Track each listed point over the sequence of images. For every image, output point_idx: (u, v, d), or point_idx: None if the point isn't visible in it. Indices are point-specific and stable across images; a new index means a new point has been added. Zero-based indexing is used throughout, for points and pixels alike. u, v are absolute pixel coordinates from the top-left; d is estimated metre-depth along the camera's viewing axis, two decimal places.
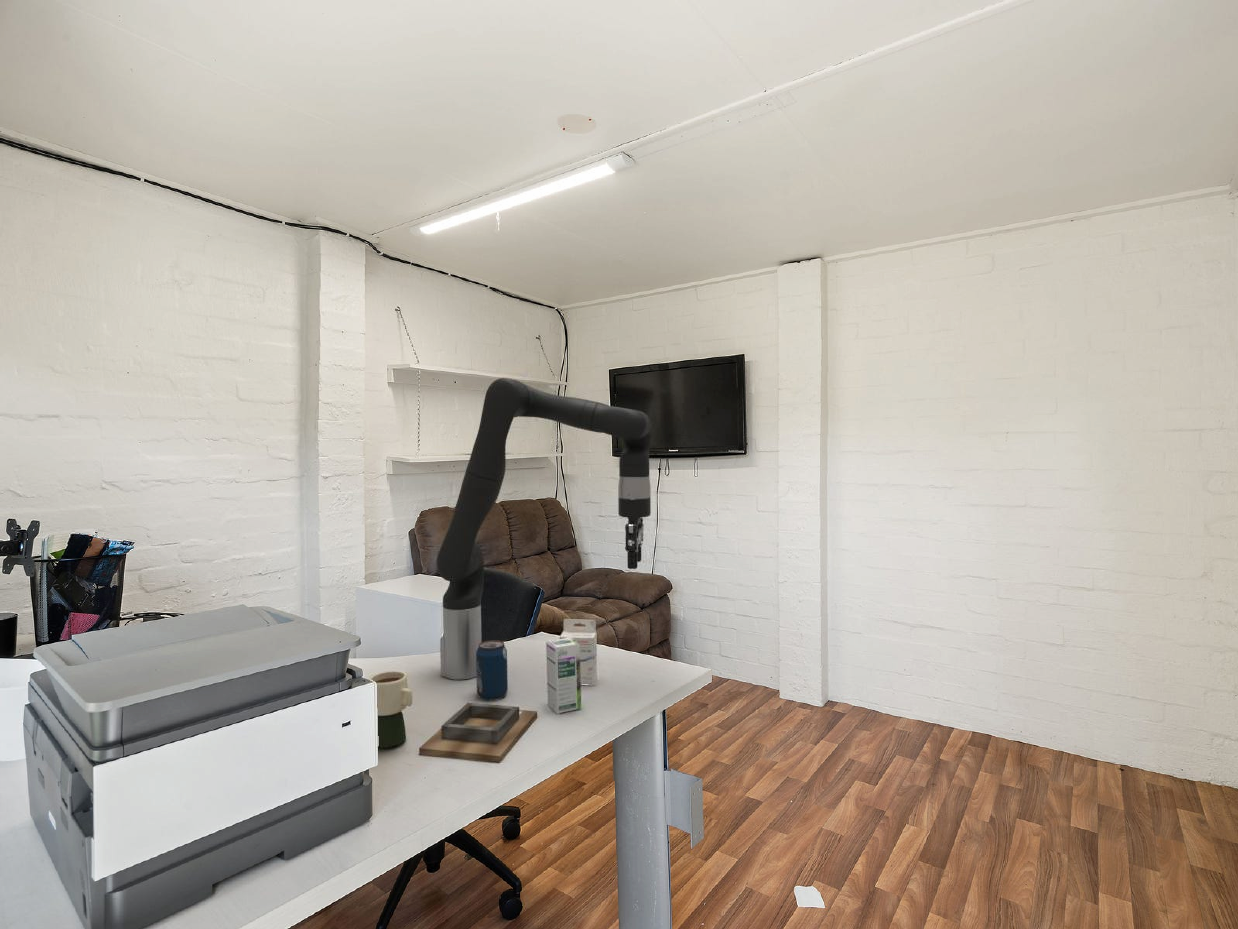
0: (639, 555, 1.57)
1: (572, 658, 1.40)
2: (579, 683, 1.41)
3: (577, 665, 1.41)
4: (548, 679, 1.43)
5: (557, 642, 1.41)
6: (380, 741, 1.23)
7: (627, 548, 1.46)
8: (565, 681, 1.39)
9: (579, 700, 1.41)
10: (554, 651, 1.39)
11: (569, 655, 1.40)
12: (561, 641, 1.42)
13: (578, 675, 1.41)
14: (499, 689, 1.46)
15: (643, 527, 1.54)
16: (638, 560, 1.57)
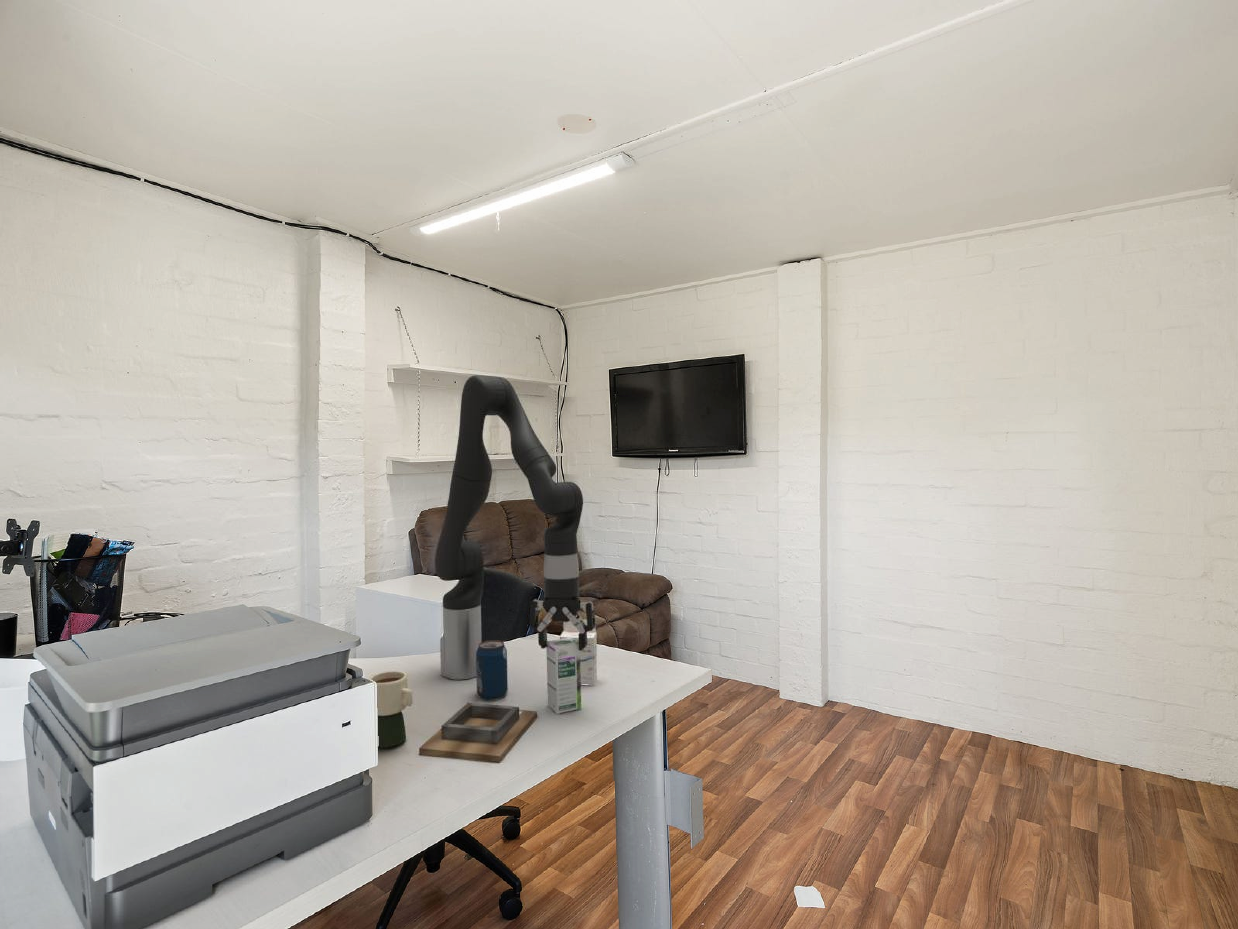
0: (546, 639, 1.43)
1: (572, 658, 1.40)
2: (579, 683, 1.41)
3: (577, 665, 1.41)
4: (548, 679, 1.43)
5: (557, 642, 1.41)
6: (380, 741, 1.23)
7: (593, 627, 1.39)
8: (565, 681, 1.39)
9: (579, 700, 1.41)
10: (554, 651, 1.39)
11: (569, 655, 1.40)
12: (561, 641, 1.42)
13: (578, 675, 1.41)
14: (499, 689, 1.46)
15: None
16: None
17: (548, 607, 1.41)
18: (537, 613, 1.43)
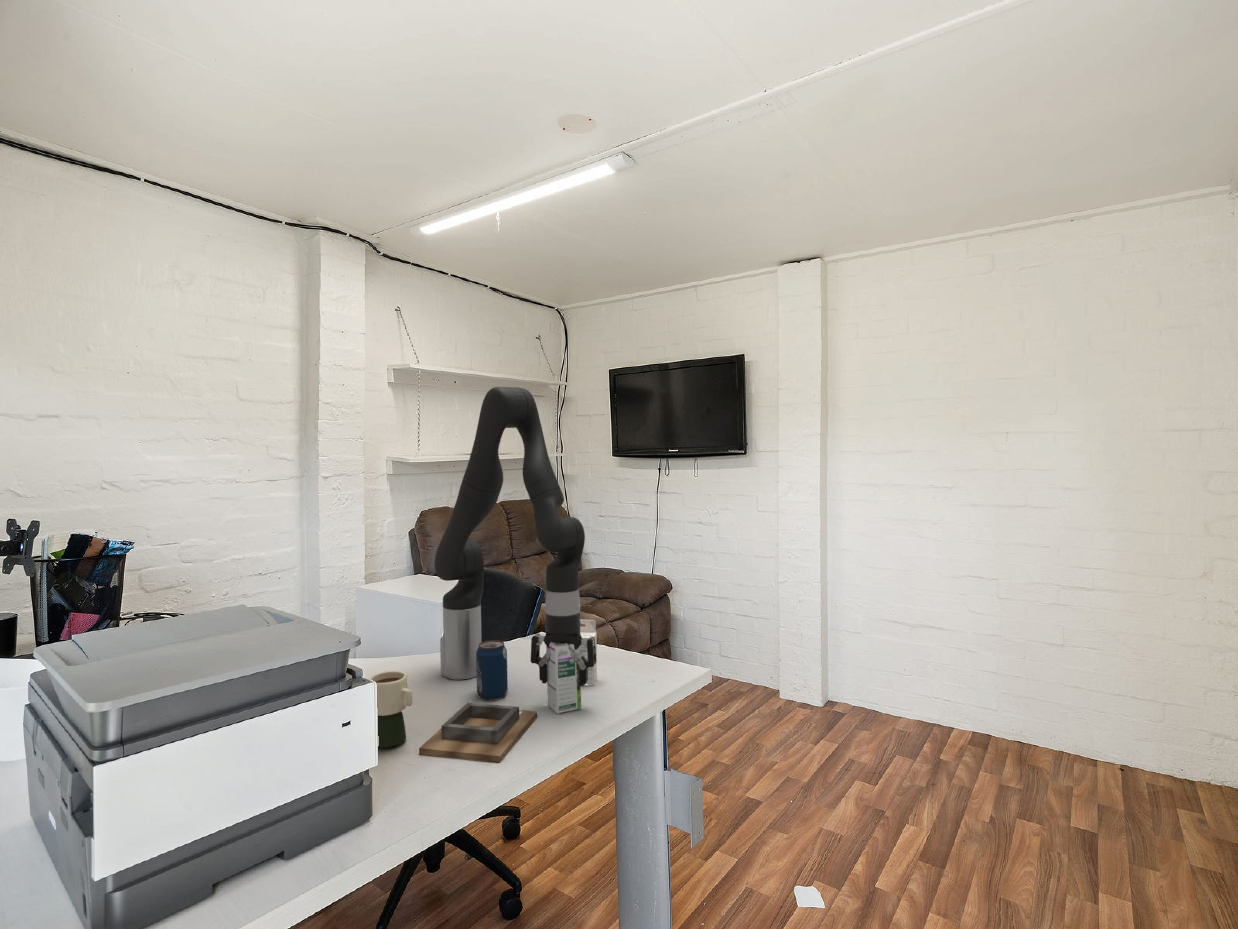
0: None
1: None
2: (579, 683, 1.41)
3: (577, 665, 1.41)
4: (548, 679, 1.43)
5: None
6: (380, 741, 1.23)
7: None
8: (565, 681, 1.39)
9: (579, 700, 1.41)
10: (554, 651, 1.39)
11: (569, 655, 1.40)
12: None
13: (578, 675, 1.41)
14: (499, 689, 1.46)
15: None
16: None
17: (549, 643, 1.41)
18: (538, 648, 1.44)
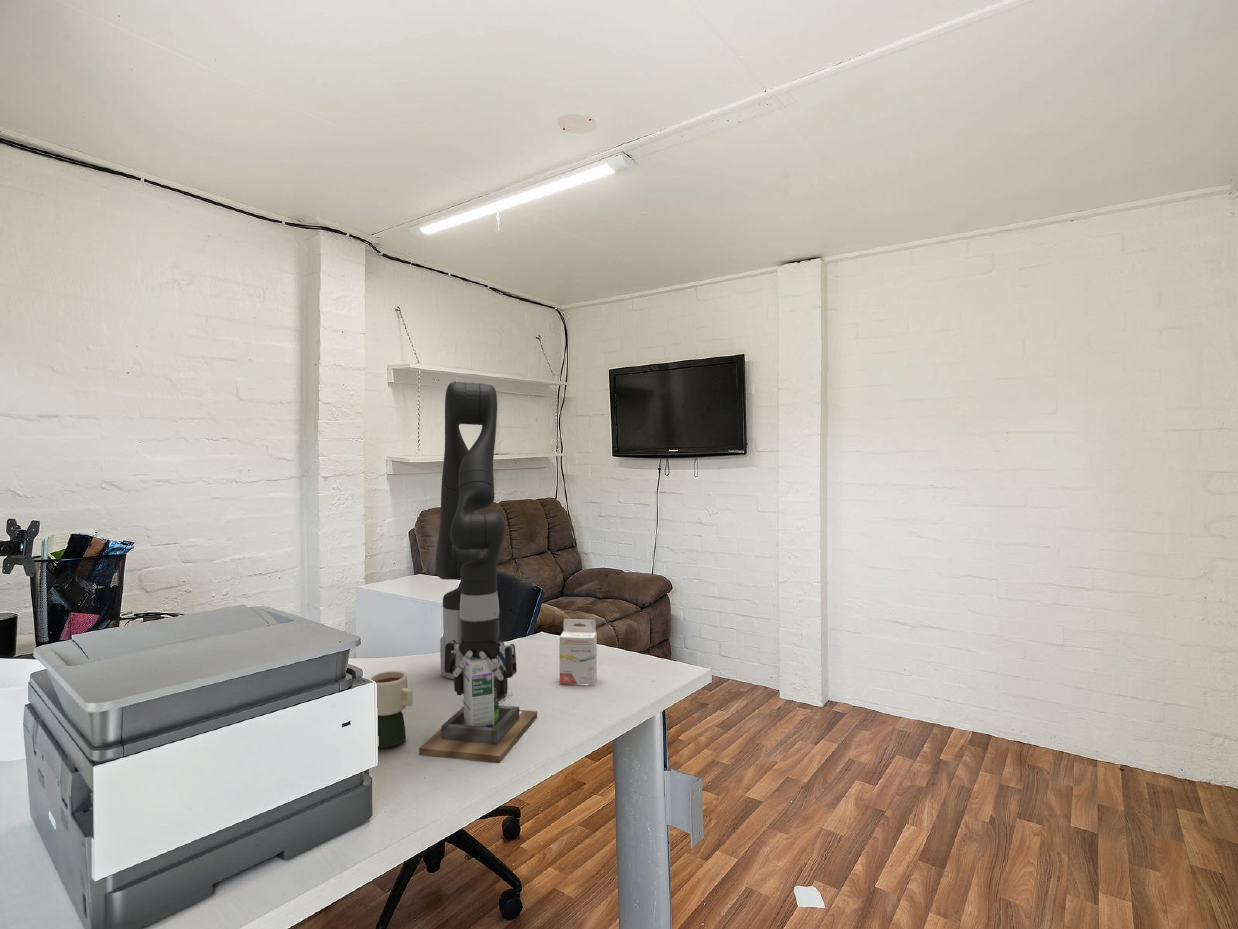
0: None
1: (489, 675, 1.27)
2: (497, 702, 1.28)
3: (494, 682, 1.28)
4: (464, 697, 1.30)
5: (473, 657, 1.28)
6: (380, 741, 1.23)
7: (512, 674, 1.27)
8: (480, 700, 1.26)
9: (497, 721, 1.28)
10: (468, 667, 1.26)
11: (485, 672, 1.27)
12: None
13: (496, 693, 1.28)
14: None
15: None
16: None
17: (464, 650, 1.28)
18: (454, 656, 1.31)
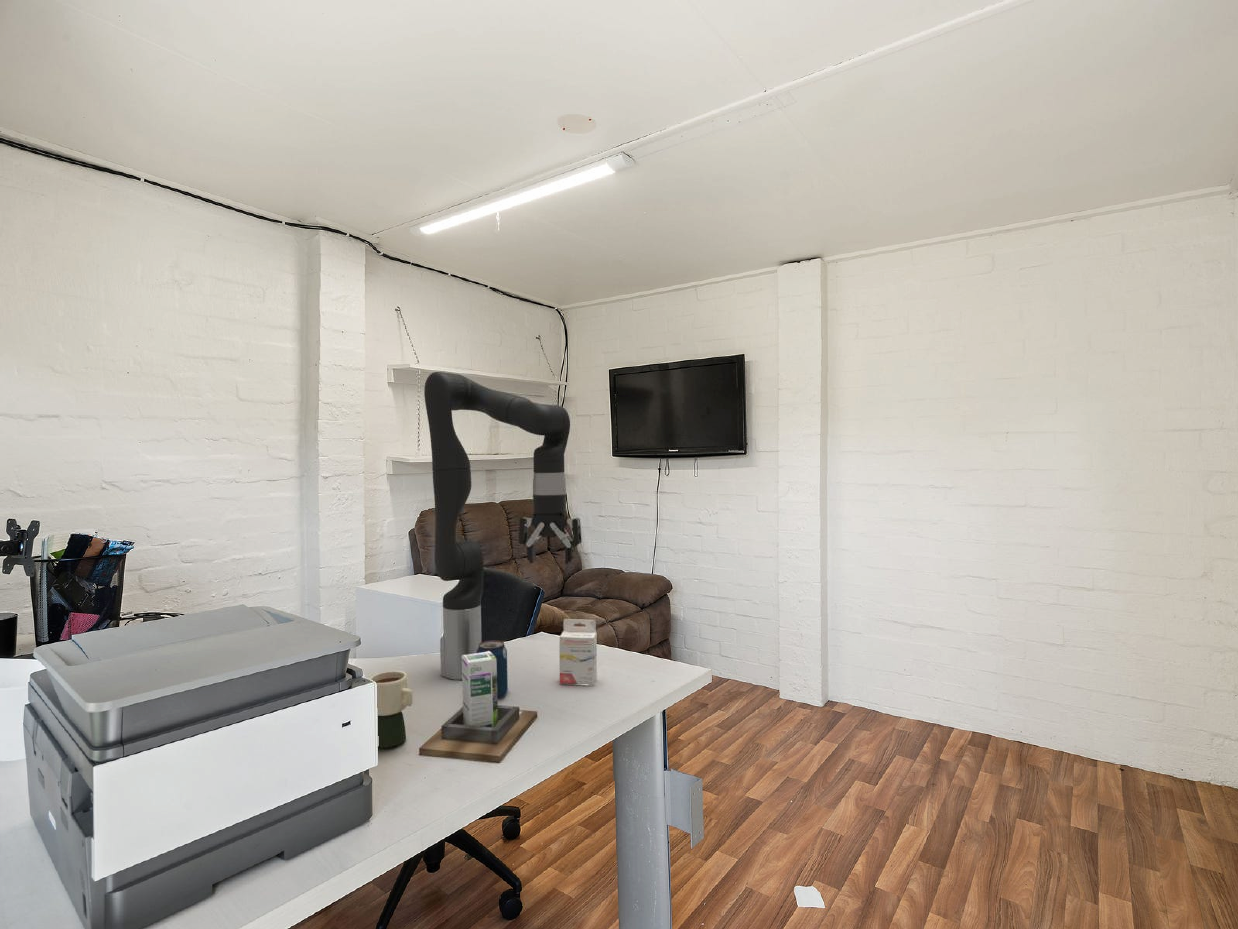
0: (534, 555, 1.51)
1: (487, 675, 1.27)
2: (495, 702, 1.28)
3: (493, 682, 1.28)
4: (463, 697, 1.30)
5: (472, 657, 1.28)
6: (380, 741, 1.23)
7: (579, 542, 1.47)
8: (479, 700, 1.26)
9: (496, 721, 1.28)
10: (467, 667, 1.26)
11: (483, 672, 1.27)
12: (477, 655, 1.29)
13: (494, 693, 1.28)
14: (499, 689, 1.46)
15: None
16: (534, 561, 1.51)
17: (536, 523, 1.49)
18: (526, 530, 1.51)
